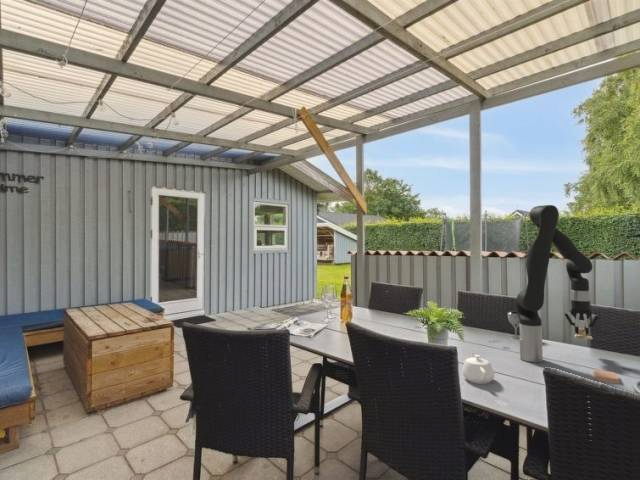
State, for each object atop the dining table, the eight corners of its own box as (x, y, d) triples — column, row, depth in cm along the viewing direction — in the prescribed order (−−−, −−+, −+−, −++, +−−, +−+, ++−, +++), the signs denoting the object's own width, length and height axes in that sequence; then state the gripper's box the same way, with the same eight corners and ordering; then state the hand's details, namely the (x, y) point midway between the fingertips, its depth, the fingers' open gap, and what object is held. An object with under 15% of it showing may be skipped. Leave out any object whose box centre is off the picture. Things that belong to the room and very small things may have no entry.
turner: (576, 337, 157) (575, 329, 157) (573, 334, 170) (572, 327, 171) (592, 339, 153) (591, 331, 154) (588, 336, 167) (587, 328, 167)
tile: (593, 374, 143) (596, 381, 137) (593, 369, 143) (596, 375, 137) (614, 377, 140) (618, 384, 133) (614, 372, 140) (618, 379, 133)
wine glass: (525, 337, 198) (524, 311, 199) (522, 340, 193) (521, 314, 193) (510, 334, 204) (509, 310, 204) (506, 337, 198) (505, 312, 198)
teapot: (456, 369, 152) (456, 347, 152) (485, 370, 150) (485, 348, 150) (468, 388, 132) (467, 363, 132) (502, 390, 130) (501, 364, 130)
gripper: (563, 299, 164) (564, 334, 164) (600, 301, 156) (601, 338, 156) (562, 297, 170) (563, 331, 170) (597, 298, 163) (599, 334, 163)
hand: (581, 334), depth 163 cm, fingers closed on turner, 2 cm apart
